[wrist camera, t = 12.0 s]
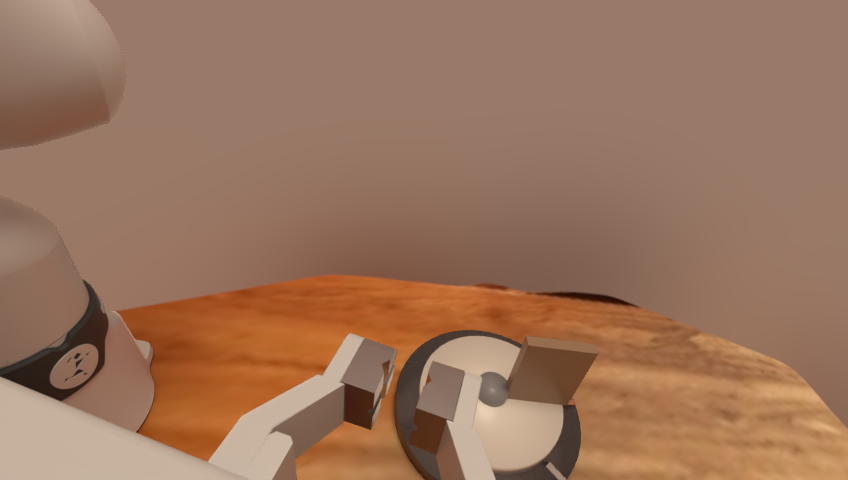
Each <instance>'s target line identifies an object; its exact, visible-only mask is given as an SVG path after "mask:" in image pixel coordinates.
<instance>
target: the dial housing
mask: <svg viewBox="0 0 848 480" xmlns="http://www.w3.org/2000/svg"><path fill="white" fill-rule="evenodd" d="M467 336H486V337H491V338H496V339H499V340H503V341H505V342H508V343H510V344H512V345H514V346H516V347H518V348H520V349H521V347H522V345H521V344H520V343H518V342H515V341H513V340H511V339H509V338H506V337H503V336H501V335H497V334H494V333H490V332H484V331H474V330H463V331H454V332H449V333H446V334H442V335H439V336H437V337H435V338H432V339H431V340H429V341H427V342H425V343H424V344H423V345H421V346H420V347H419V348H418V349H417V350H416V351H415V352H414V353H413V354H412V355H411V356H410V358H409V359H408V360H407V362H406V363H405V365H404V367H403V369H402V371H401V374H400V377H399V380H398V385H397V391H396V397H395V412H394V414H395V422H396V428H397V431H398V435H399V438H400V441H401V443H402V446H403V448H404V450H405V452H406V454H407V456H408V458H409V459H410V461H411V463H412V464H413V465H414V467H415V468H416V469H417V471H418V472H419V473H420V474H421V475H422V476H423V477H424V479H425V480H441V476H440V472H439V468H438V463H437V459H436V455H435V454H432V453H430V452H427V451H425V450H422V449H420V448H417V447H415V446H412V445H410V444H409V439H410V434H411V430H412V427H413V424H414V423H413V420H414V415H415V411H416V407H417V404H418V401H419V385H420V380H421V375H422V372H423V369H424V366H425V364H426V362H427V360H428V359H429V357H430V356H431V355H432V354H433V353H434V352H435V351H436V350H437V349H438V348H439V347H440V346H442V345H443V344H445V343H447V342H449V341H451V340H454V339H457V338H461V337H467ZM575 405H576V404H575V401H574V399H572V398H571V400H570V401H569V403H568V405H567V406H566V405H562V407H563V426H562V430H561V434H560V436H559V438H558V441H557V442H556V444H555V446H554V447H553V449H552V450H551V452H550V453H549V455H548V456H547V457H546V458H545V459H544V460H543V461H542V462H541V463H539V464H538V465H536V466H535V467H533V468H531V469H529V470H527V471H524V472H520V473H517V474H508V475H500V474H494V476H495V479H496V480H566V479H567V478H568V476H569V475H570V473H571V471H572V470H573V468H574V466H575V463H576V461H577V458H578V455H579V449H580V442H581V430H580V421H579V417H578V413H577V410H576V407H575Z"/></svg>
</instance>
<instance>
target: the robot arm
mask: <svg viewBox="0 0 848 480" xmlns="http://www.w3.org/2000/svg"><path fill="white" fill-rule="evenodd" d="M125 83H126V74H125V64H124V59H123V56H122V52H121V49H120V47H119V44H118V42H117V39H116V37H115V35H114V33H113V32H112V30H111V28H110V27H109V25H108V23H107V22H106V20H105V19H104V18H103V16H102V15H101V14H100V12H99V11H98V10H97V9H96V8H95V6H94V5H93V4H92V3H91V2H90V1H89V0H0V150H4V149H12V148H19V147H27V146H34V145H38V144H42V143H45V142H49V141H52V140H56V139H59V138H63V137H66V136H70V135H73V134H76V133H79V132H82V131H85V130H89V129H92V128H95V127H98V126H101V125H104V124H107V123H109V122H110V121H111V120H112V118H113V117H114V116H115V114H116V112H117V111H118V109H119V107H120V104H121V102H122V99H123V95H124V91H125ZM396 352H397V349H394V348H391V347H388V346H385V345H383V344H380V343H377V342H374V341H372V340H369V339H366V338H363V337H360V336H357V335H354V334H351V333H350V334H349V335H348V336H346V338H345V339H344V341H343V343H342V344H341V346H340V347H339V349H338V351H337V352H336V354H335V356H334V357H333V359H332V361H331V362H330V364H329V365H328V367H327V369H326V370H325V372H324V374H323V375H322V376H321V375H318V374H317V375H316V376H314V377H312V378H310V379H308V380H306V381H305V382H303V383H301V384H299V385H297V386H295V387H294V388H292V389H290V390H288V391H286V392H285V393H283V394H281V395H279V396H277V397H275V398H274V399H272V400H270V401H268V402H266V403H264V404H263V405H261V406H259V407H257V408H255V409H254V410H252V411H250V412H248V413H246V414H244V415H243V416H241V418H240V419H239V420H238V422H237V423H236V425H235V426H234V427H233V429H232V430H231V431H230V433H229V434H228V435H227V437H226V438H225V439H224V441H223V442H222V443H221V445H220V446H219V447H218V449H217V450H216V451H215V453H214V454H213V455H212V457H211V458H210V459H209V461H208V462H206V461H204V460H202V459H199V458H197V457H194V456H192V455H190V454H187V453H185V452H182V451H180V450H177V449H175V448H173V447H170V446H168V445H165V444H163V443H160V442H158V441H156V440H153V439H151V438H148V437H146V436H143V435H141V434H139V433H136V431H137V430H138V429H139V428H140V426H141V425H142V423H143V422H144V420H145V418H146V417H147V415H148V413H149V411H150V408H151V406H152V402H153V398H154V382H153V379H152V376H151V373H150V364H151V360H152V357H153V348H152V347H151V345H150V344H149V343H148V342H146V341H141V340H135V339H134V337H133V335H132V334H131V332H130V330H129V329H128V327H127V325H126V324H125V322H124V320H123V319H122V317H121V316H120V314H119V313H117V312H116V311H109V310H106V309H104V305H103V303H102V301H101V299H100V297H99V296H98V295H97V293H95V291H94V290H93V288H92V287H91V286H90V284H88V283H87V282H86V281H84V280H83V279H82V278H81V276H80V274H79V272H78V270H77V268H76V266H75V264H74V262H73V260H72V258H71V256H70V254H69V252H68V250H67V248H66V246H65V244H64V242H63V240H62V237H61V235H60V234H59V231H58V230H57V228H56V226H55V225H54V224H53V223H52V222H51V221H50V220H49V219H48V218H47V217H46V216H44V215H43V214H42V213H40V212H38V211H37V210H35V209H33V208H31V207H29V206H27V205H24V204H22V203H20V202H18V201H15V200H12V199H10V198H7V197H4V196H0V480H297V475H296V466H295V459H297V458H298V457H299V456H301V455H302V454H303V453H305V452H306V451H307V450H308V449H310V448H311V447H312V446H314V445H315V444H316V443H318V442H319V441H320V440H322V439H323V438H324V437H325V436H327V435H328V434H329V433H331V432H332V431H333V430H335V429H336V428H337V427H339V426H340V425H341V424H342V423H343V421H346V422H349V423H352V424H355V425H358V426H361V427H364V428H366V429H369V430H371V429H372V426H373V424H374V422H375V420H376V417H377V415H378V413H379V410H380V404H381V399H382V398H384V397H385V396H386V394H387V391H388V389H389V386H390V383H391V380H392V377H393V373H394V367H395V366H394V364H393V362H394V360H395V358H396ZM481 383H482V377H481V376H478V375H475V374H472V373H469V372H465V371H464V370H461V369H458V368H454V367H451V366H448V365H445V364H442V363H438V362H435V361H432V363H431V366H430V369H429V372H428V375H427V379H426V384H425V386H423V389H422V392H421V395H420V398H419V401H418V404H417V407H416V411H415V415H414V420H413V423H414V424H413V427H412V430H411V434H410V439H409V444H410V445H412V446H415V447H417V448H420V449H422V450H425V451H427V452H430V453H432V454H435V455H436V459H437V463H438V468H439V472H440V476H441V480H496V479H495V476H494V473H493V471H492V468H491V465H490V463H489V460H488V457H487V455H486V452H485V450H484V447H483V444H482V442H481V439H480V436H479V434H478V431H477V430H474V429H472V428H473V423H474V418H475V413H476V408H477V403H478V398H479V393H480V388H481Z"/></svg>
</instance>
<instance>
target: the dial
mask: <svg viewBox="0 0 848 480" xmlns="http://www.w3.org/2000/svg"><path fill="white" fill-rule="evenodd" d="M597 355H598V352H597V350H596V347H595V345H594V344H589V343H581V342H572V341H564V340H556V339H548V338H540V337H532V336H526V338H525V340H524V342H523V345H522V347H521V349H520V348H518V347H516V346H514V345H512V344H510V343H508V342H505V341H503V340H499V339H496V338H491V337H486V336H467V337H461V338H457V339H454V340H451V341H449V342H447V343H445V344H443V345H442V346H440V347H439V348H438V349H437V350H436V351H435V352H434V353H433V354H432V355H431V356H430V357H429V359H428V360H427V362H426V364H425V366H424V369H423V372H422V375H421V380H420V385H419V398H420V395H421V392H422V389H423V386H425V384H426V379H427V375H428V372H429V369H430V366H431V363H432V361H435V362H438V363H442V364H445V365H448V366H451V367H454V368H458V369H461V370H464V371H465V372H469V373H472V374H475V375H478V376H481V377H482V383H481V388H480V393H479V398H478V403H477V408H476V413H475V418H474V423H473V428H472V429H474V430H477V431H478V434H479V436H480V439H481V442H482V444H483V447H484V450H485V452H486V455H487V457H488V460H489V463H490V465H491V468H492V471H493V473H494V474H500V475H508V474H517V473H520V472H524V471H527V470H529V469H531V468H533V467H535V466H536V465H538V464H539V463H541V462H542V461H543V460H544V459H545V458H546V457H547V456H548V455H549V453H550V452H551V450H552V449H553V447H554V446H555V444H556V442H557V441H558V438H559V436H560V434H561V430H562V426H563V407H562V405H566V406H567V405H568V403H569V401H570V400H571V398H572V396H573V395H574V393H575V391H576V390H577V388H578V386H579V385H580V383H581V382H582V380H583V378H584V377H585V375H586V373H587V372H588V370H589V368H590V367H591V365H592V363H593V362H594V360H595V358H596V357H597Z"/></svg>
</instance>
